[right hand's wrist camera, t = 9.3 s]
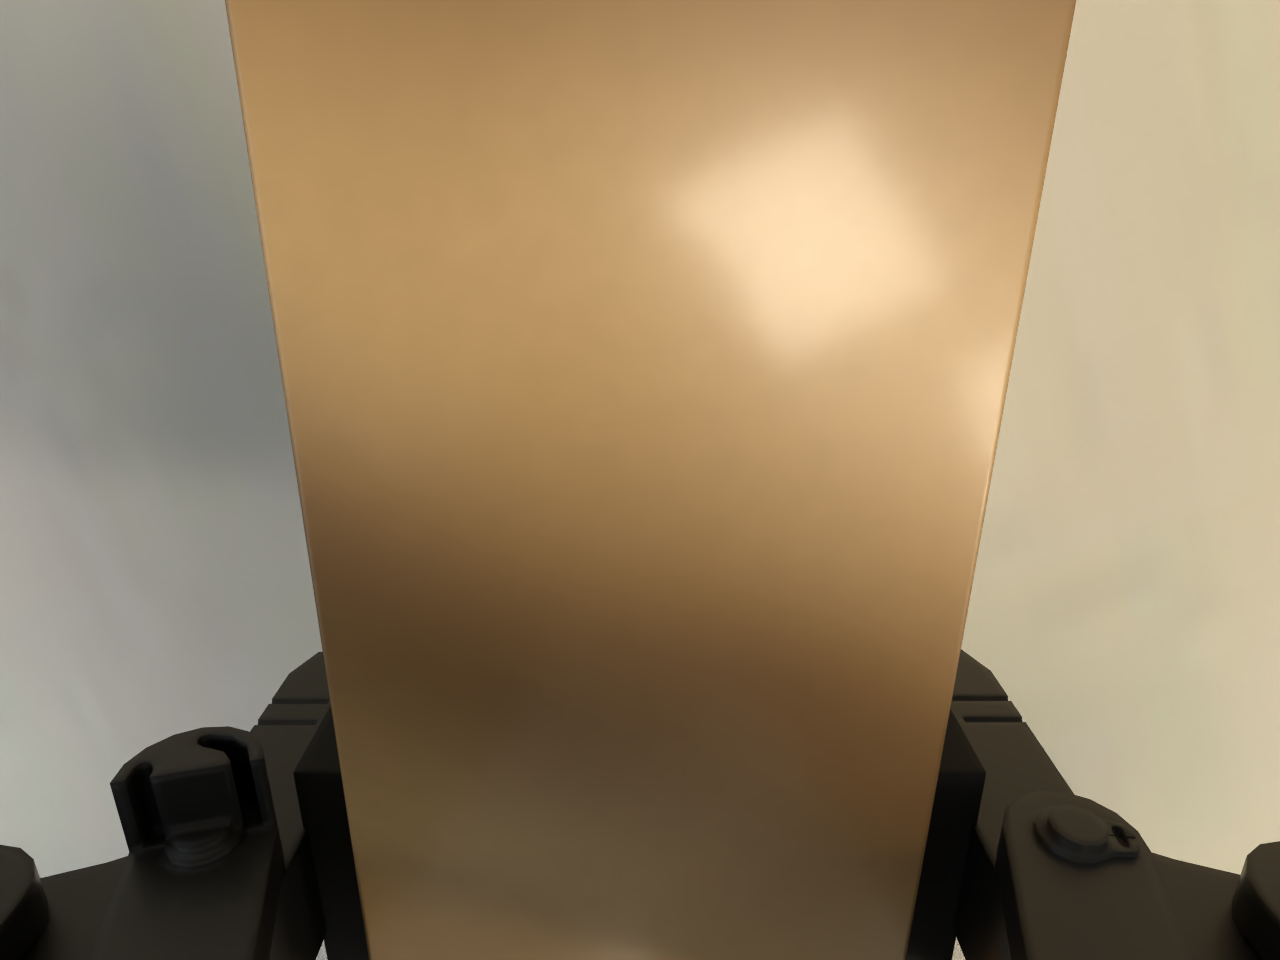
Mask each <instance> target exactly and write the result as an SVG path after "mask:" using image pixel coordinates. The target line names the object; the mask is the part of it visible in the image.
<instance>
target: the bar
mask: <svg viewBox="0 0 1280 960" xmlns="http://www.w3.org/2000/svg"><path fill="white" fill-rule="evenodd" d="M225 3H226V10H227V16H228V23H229V30H230V36H231V43H232V50H233V56H234V63H235V70H236V76H237V83H238V90H239V96H240V103H241V110H242V116H243V123H244V130H245V136H246V143H247V150H248V156H249V163H250V170H251V176H252V183H253V190H254V196H255V203H256V210H257V216H258V223H259V229H260V236H261V243H262V249H263V256H264V263H265V269H266V276H267V283H268V289H269V296H270V303H271V309H272V316H273V323H274V329H275V336H276V343H277V349H278V356H279V363H280V369H281V376H282V383H283V389H284V396H285V403H286V409H287V416H288V423H289V429H290V436H291V442H292V449H293V456H294V462H295V469H296V476H297V482H298V489H299V496H300V502H301V509H302V516H303V522H304V529H305V536H306V542H307V549H308V556H309V562H310V569H311V576H312V582H313V589H314V596H315V602H316V609H317V616H318V622H319V629H320V636H321V642H322V649H323V655H324V662H325V669H326V675H327V682H328V689H329V695H330V702H331V709H332V715H333V722H334V729H335V735H336V742H337V749H338V755H339V762H340V769H341V775H342V782H343V789H344V795H345V802H346V809H347V815H348V822H349V829H350V835H351V842H352V849H353V855H354V862H355V868H356V875H357V882H358V888H359V895H360V902H361V908H362V915H363V922H364V928H365V935H366V942H367V948H368V955H369V960H906V954H907V948H908V943H909V937H910V931H911V926H912V920H913V915H914V909H915V903H916V898H917V892H918V886H919V881H920V875H921V870H922V864H923V858H924V853H925V847H926V842H927V836H928V830H929V825H930V819H931V813H932V808H933V802H934V797H935V791H936V785H937V780H938V774H939V768H940V763H941V757H942V752H943V746H944V740H945V735H946V729H947V723H948V718H949V712H950V707H951V701H952V695H953V690H954V684H955V678H956V673H957V667H958V662H959V656H960V650H961V645H962V639H963V633H964V628H965V622H966V617H967V611H968V605H969V600H970V594H971V588H972V583H973V577H974V572H975V566H976V560H977V555H978V549H979V543H980V538H981V532H982V527H983V521H984V515H985V510H986V504H987V498H988V493H989V487H990V482H991V476H992V470H993V465H994V459H995V454H996V448H997V442H998V437H999V431H1000V425H1001V420H1002V414H1003V409H1004V403H1005V397H1006V392H1007V386H1008V380H1009V375H1010V369H1011V364H1012V358H1013V352H1014V347H1015V341H1016V335H1017V330H1018V324H1019V319H1020V313H1021V307H1022V302H1023V296H1024V290H1025V285H1026V279H1027V274H1028V268H1029V262H1030V257H1031V251H1032V245H1033V240H1034V234H1035V229H1036V223H1037V217H1038V212H1039V206H1040V200H1041V195H1042V189H1043V184H1044V178H1045V172H1046V167H1047V161H1048V155H1049V150H1050V144H1051V139H1052V133H1053V127H1054V122H1055V116H1056V110H1057V105H1058V99H1059V94H1060V88H1061V82H1062V77H1063V71H1064V66H1065V60H1066V54H1067V49H1068V43H1069V37H1070V32H1071V26H1072V21H1073V15H1074V9H1075V4H1076V0H225Z"/></svg>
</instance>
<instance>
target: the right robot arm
mask: <svg viewBox="0 0 1280 960" xmlns="http://www.w3.org/2000/svg"><path fill="white" fill-rule="evenodd" d="M110 785H111V789H112V793H113V796H114V800H115V803H116V807H117V810H118V814H119V817H120V821H121V824H122V828H123V831H124V835H125V838H126V842H127V845H128V849H129V855H128V856H127V857H123V858H120V859H117V860H114V861H110V862H107V863H103V864H99V865H95V866H91V867H86V868H82V869H78V870H74V871H69V872H65V873H61V874H57V875H52V876H48V877H44V878H40V877H39V874H38V872H37V869H36V866H35V863H34V860H33V858H31V857H30V856H29V855H28V854H27V853H26V852H24V851H23V850H22V849H21V848H17V847H10V846H4V845H0V960H316V957H317V955H318V952H319V950H320V947H321V945H322V942H323V940H324V942H325V948H326V953H327V958H328V960H369V955H368V948H367V942H366V935H365V928H364V922H363V915H362V908H361V902H360V895H359V888H358V882H357V875H356V868H355V862H354V855H353V849H352V842H351V835H350V829H349V822H348V815H347V809H346V802H345V795H344V789H343V782H342V775H341V769H340V762H339V755H338V749H337V742H336V735H335V729H334V722H333V715H332V709H331V702H330V695H329V689H328V682H327V675H326V669H325V662H324V655H323V652H318V653H317V654H316V655H314V656H313V657H311V658H310V659H309V660H307V661H306V662H305V663H303V664H302V665H301V666H299V667H298V668H296V669H295V670H294V671H292V672H291V673H290V674H289V675H288V676H287V678H286V679H285V681H284V682H283V684H282V685H281V687H280V688H279V690H278V691H277V693H276V694H275V696H274V697H273V699H272V704H269V705H268V706H267V708H266V709H265V711H264V712H263V714H262V715H261V716H260V718H259V719H258V725H254V727H253V728H252V730H251V731H250V732H248V731H244V730H240V729H237V728H233V727H206V728H199V729H195V730H191V731H187V732H184V733H180V734H176V735H173V736H171V737H168V738H166V739H164V740H162V741H160V742H158V743H156V744H153V745H151V746H149V747H147V748H145V749H144V750H143V751H141V752H140V753H139V754H137V755H136V756H135V757H133V758H132V759H131V760H129V761H128V762H127V763H125V764H124V765H123V766H122V768H121V769H120V770H119V772H118V773H117V775H116V776H115V777H114V779H113V780H112V781H111V783H110ZM956 937H957V939H958V942H959V944H960V947H961V949H962V952H963V954H964V957H965V959H966V960H1280V841H1279V842H1272V843H1266V844H1260V845H1259V846H1258V847H1257V848H1255V849H1254V850H1253V851H1252V852H1251V853H1250V854H1248V855H1247V858H1246V861H1245V864H1244V866H1243V869H1242V872H1241V875H1238V874H1234V873H1230V872H1226V871H1221V870H1217V869H1213V868H1209V867H1204V866H1200V865H1196V864H1191V863H1187V862H1183V861H1179V860H1174V859H1171V858H1168V857H1165V856H1161V855H1158V854H1155V853H1152V852H1151V851H1150V849H1149V848H1148V846H1147V845H1146V843H1145V842H1144V840H1143V839H1142V837H1141V836H1140V834H1139V832H1138V831H1137V830H1136V829H1135V828H1133V827H1132V826H1131V825H1130V824H1129V823H1127V822H1126V821H1125V820H1124V819H1123V818H1121V817H1120V816H1119V815H1118V814H1117V813H1115V812H1113V811H1111V810H1109V809H1107V808H1106V807H1104V806H1102V805H1100V804H1098V803H1096V802H1094V801H1092V800H1090V799H1087V798H1083V797H1080V796H1076V795H1074V793H1073V792H1072V790H1071V789H1070V787H1069V786H1068V784H1067V783H1066V782H1065V780H1064V779H1063V777H1062V776H1061V774H1060V773H1059V771H1058V770H1057V768H1056V767H1055V765H1054V764H1053V762H1052V761H1051V759H1050V758H1049V756H1048V755H1047V753H1046V752H1045V750H1044V749H1043V748H1042V746H1041V745H1040V743H1039V742H1038V740H1037V739H1036V737H1035V736H1034V734H1033V733H1032V731H1031V730H1030V728H1029V727H1028V725H1027V724H1026V722H1022V716H1021V715H1020V714H1019V712H1018V711H1017V709H1016V708H1015V706H1014V705H1013V703H1012V702H1011V701H1008V696H1007V694H1006V693H1005V691H1004V690H1003V688H1002V687H1001V685H1000V684H999V682H998V681H997V680H996V678H995V677H994V675H993V674H992V672H991V671H990V670H989V669H987V668H986V667H985V666H983V665H982V664H980V663H979V662H978V661H976V660H975V659H974V658H972V657H971V656H969V655H968V654H967V653H965V652H964V651H963V650H960V656H959V662H958V667H957V673H956V678H955V684H954V690H953V695H952V701H951V707H950V712H949V718H948V723H947V729H946V735H945V740H944V746H943V752H942V757H941V763H940V768H939V774H938V780H937V785H936V791H935V797H934V802H933V808H932V813H931V819H930V825H929V830H928V836H927V842H926V847H925V853H924V858H923V864H922V870H921V875H920V881H919V886H918V892H917V898H916V903H915V909H914V915H913V920H912V926H911V931H910V937H909V943H908V948H907V954H906V960H952V955H953V950H954V945H955V939H956Z"/></svg>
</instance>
